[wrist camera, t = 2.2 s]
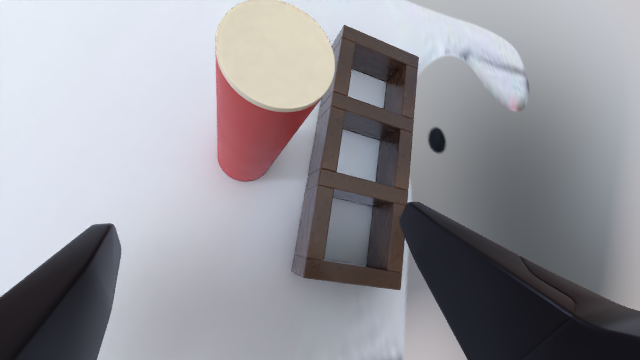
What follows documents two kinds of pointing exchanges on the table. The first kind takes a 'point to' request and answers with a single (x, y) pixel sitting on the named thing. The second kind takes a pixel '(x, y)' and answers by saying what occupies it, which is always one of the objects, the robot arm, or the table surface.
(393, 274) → the brown wooden rack
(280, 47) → the red cylinder
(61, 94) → the table surface
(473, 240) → the robot arm
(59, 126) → the table surface
